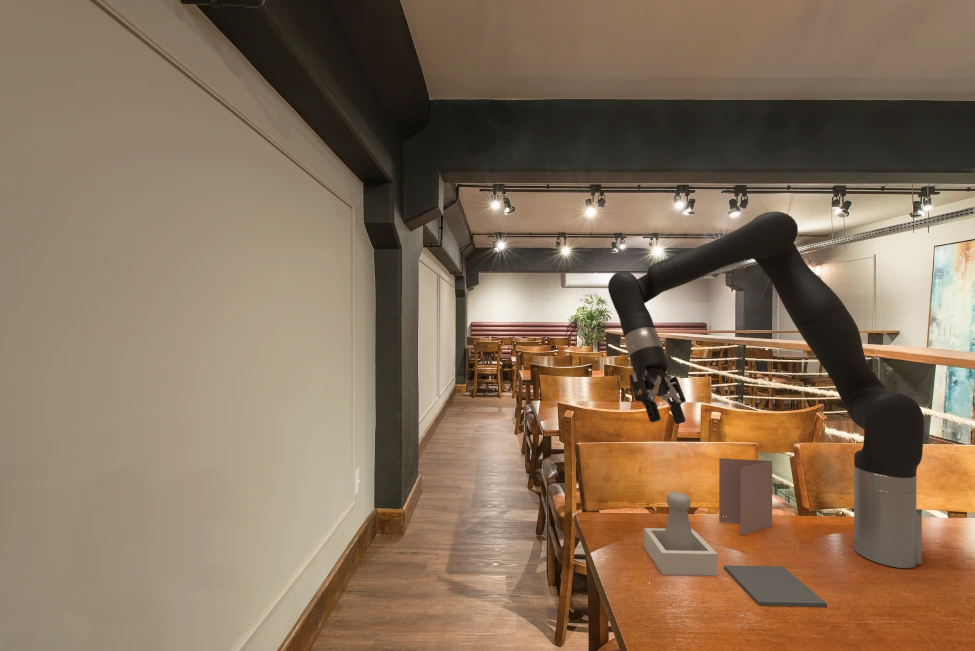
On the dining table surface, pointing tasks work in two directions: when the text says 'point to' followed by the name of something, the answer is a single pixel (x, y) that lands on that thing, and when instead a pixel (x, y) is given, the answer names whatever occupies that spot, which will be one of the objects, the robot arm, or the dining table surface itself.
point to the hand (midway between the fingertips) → (668, 422)
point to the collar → (680, 555)
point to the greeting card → (745, 493)
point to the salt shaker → (678, 524)
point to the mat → (774, 586)
